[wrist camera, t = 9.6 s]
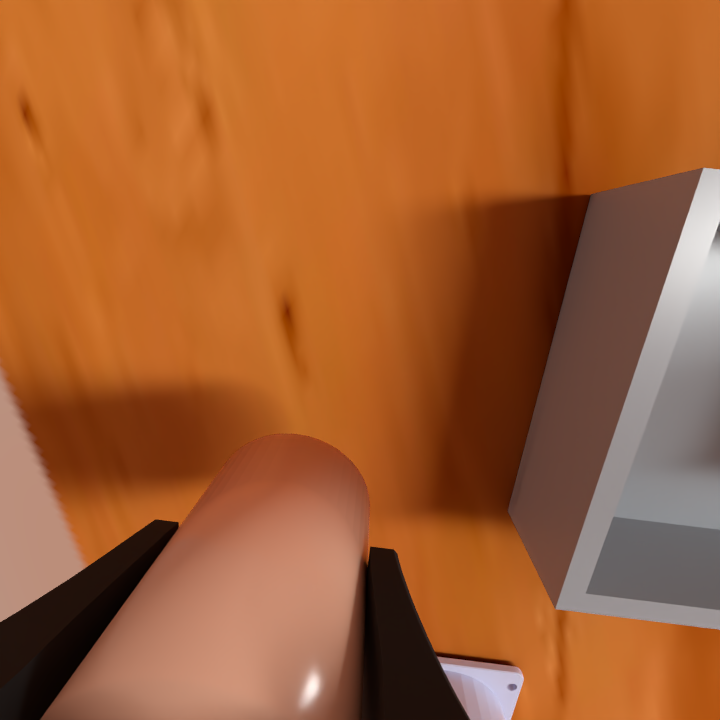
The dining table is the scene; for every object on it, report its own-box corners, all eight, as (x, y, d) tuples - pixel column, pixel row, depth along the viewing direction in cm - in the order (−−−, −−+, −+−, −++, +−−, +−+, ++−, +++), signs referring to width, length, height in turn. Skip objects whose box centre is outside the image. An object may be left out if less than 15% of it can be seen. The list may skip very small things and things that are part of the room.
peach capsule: (360, 575, 13) (341, 920, 6) (215, 557, 13) (44, 877, 6) (378, 444, 12) (377, 708, 5) (216, 424, 12) (-2, 656, 5)
